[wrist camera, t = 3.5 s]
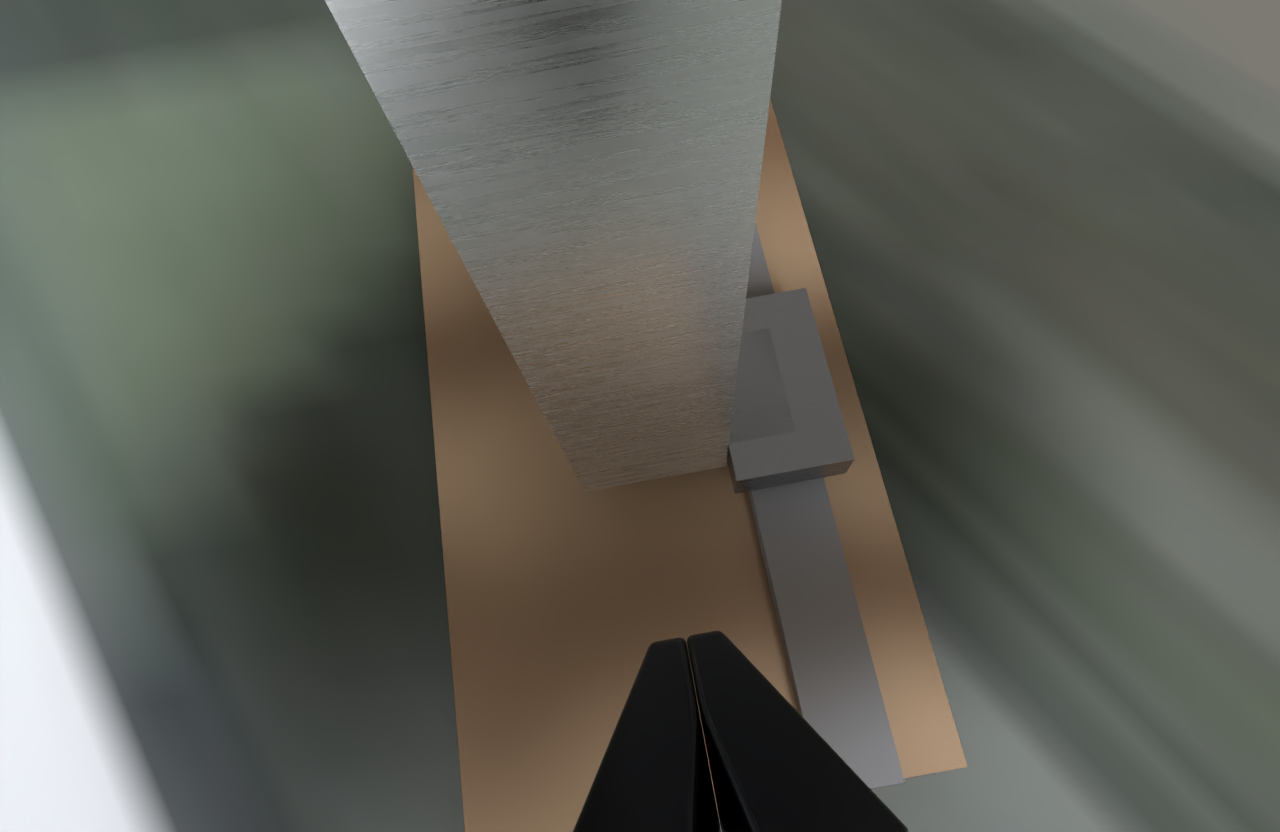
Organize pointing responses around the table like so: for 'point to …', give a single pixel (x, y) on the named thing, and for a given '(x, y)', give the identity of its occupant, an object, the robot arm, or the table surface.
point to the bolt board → (657, 564)
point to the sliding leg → (615, 221)
